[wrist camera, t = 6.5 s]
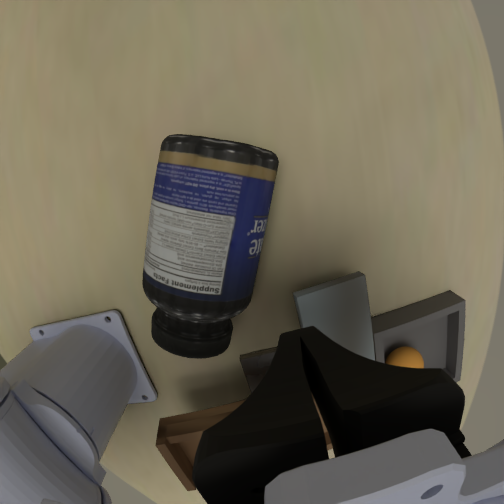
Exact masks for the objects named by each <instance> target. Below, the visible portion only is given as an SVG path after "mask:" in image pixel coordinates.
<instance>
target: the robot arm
mask: <svg viewBox="0 0 504 504" xmlns="http://www.w3.org/2000/svg"><path fill="white" fill-rule="evenodd" d="M107 316H108V317H110V318H111V321H110V320H108V319H107ZM42 331H43V332H44V333H43V332H42ZM30 334H31V337H32V339H33V342H32V343H31V344H29V345H28V346H27V347H26V348H25V349H24V350H23V351H21V352H20V353H19V354H18V355H17V356H16V357H15V358H14V359H12V360H11V361H10V362H9V363H8V364H7V365H6V366H5V367H4V368H2V369H1V370H0V504H112V502H111V498H110V496H109V494H108V492H107V491H106V490H105V489H104V488H103V487H102V486H101V484H102V481H103V479H104V477H105V474H106V471H105V470H104V469H103V468H102V467H101V465H100V464H99V461H100V459H101V457H102V455H103V453H104V451H105V449H106V447H107V444H108V442H109V440H110V438H111V436H112V434H113V432H114V430H115V428H116V426H117V424H118V422H119V420H120V418H121V416H122V414H123V412H124V410H125V408H126V406H127V404H132V403H143V402H153V401H155V400H156V399H157V393H156V391H155V389H154V387H153V385H152V383H151V381H150V379H149V377H148V375H147V373H146V371H145V368H144V366H143V364H142V362H141V360H140V358H139V356H138V353H137V351H136V349H135V347H134V344H133V342H132V340H131V338H130V335H129V333H128V331H127V328H126V326H125V323H124V321H123V319H122V316H121V314H120V313H119V312H118V311H116V310H111V311H106V312H102V313H97V314H93V315H88V316H83V317H79V318H74V319H70V320H65V321H60V322H56V323H51V324H46V325H41V326H36V327H33V328H31V329H30ZM312 394H313V397H314V399H315V402H316V404H317V407H318V409H319V412H320V414H321V416H322V419H323V421H324V424H325V426H326V429H327V431H328V434H329V437H330V440H331V443H332V447H333V451H334V454H335V458H332V459H329V456H328V451H327V445H326V439H325V434H324V430H323V426H322V423H321V419H320V416H319V414H318V411H317V409H316V406H315V403H314V400H313V397H312ZM144 395H146V396H147V397H145V396H144ZM464 405H465V396H464V393H463V390H462V389H461V388H460V387H459V385H458V384H457V383H456V382H455V381H454V380H453V379H452V378H451V377H450V376H449V375H448V374H447V373H446V372H445V371H444V370H442V369H441V368H410V367H401V366H395V365H390V364H386V363H382V362H378V361H374V360H371V359H368V358H366V357H363V356H361V355H358V354H356V353H354V352H352V351H350V350H348V349H346V348H344V347H342V346H341V345H339V344H338V343H336V342H335V341H333V340H332V339H330V338H329V337H327V336H326V335H325V334H323V333H322V332H321V331H320V330H319V329H317V328H316V327H314V326H309V327H305V328H301V329H297V330H293V331H289V332H285V333H282V334H281V335H280V337H279V342H278V346H277V349H276V352H275V354H274V357H273V359H272V362H271V364H270V366H269V368H268V370H267V371H266V373H265V375H264V377H263V378H262V380H261V382H260V383H259V384H258V386H257V387H256V389H255V390H254V391H253V392H252V393H251V395H250V396H249V397H248V398H247V399H246V400H245V401H244V402H243V403H242V404H241V405H240V406H239V407H238V408H237V409H235V410H234V411H233V412H232V413H230V414H229V415H228V416H227V417H225V418H224V419H222V420H221V421H219V422H218V423H216V424H215V425H213V426H211V427H210V428H208V429H206V430H205V431H203V433H202V436H201V439H200V442H199V444H198V447H197V450H196V454H195V459H194V466H193V472H192V480H193V483H194V485H195V487H196V488H197V490H198V491H199V493H200V494H201V495H202V497H203V498H204V500H205V501H206V502H207V504H504V439H503V440H502V441H500V442H499V443H497V444H496V445H494V446H493V447H491V448H489V449H487V450H486V451H484V452H481V453H478V454H475V455H471V454H470V452H469V451H468V449H467V448H466V446H465V445H464V444H463V442H464V441H465V437H464V435H463V434H462V432H461V431H460V429H459V428H460V424H461V419H462V415H463V410H464Z"/></svg>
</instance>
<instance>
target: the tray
mask: <svg viewBox="0 0 504 504" xmlns="http://www.w3.org/2000/svg"><path fill="white" fill-rule="evenodd" d="M371 324H372V333H373V342H374V352H375V361H378V362H382V363H385V361H386V359H387V357H388V356H389V354H390V353H391V352H392V351H394V350H395V349H397V348H399V347H404V346H407V347H412V348H414V349H416V350H417V351H418V352H419V353H420V354H421V356H422V358H423V361H424V368H441V369H442V370H444V371H445V372H446V373H447V374H448V375H449V376H450V377H451V378H452V379H453V380H454V381H455V382H458V381H460V377H461V369H462V359H463V347H464V331H465V300H464V299H463V298H461V297H460V296H458V295H457V294H455V293H453V292H452V291H450V290H449V291H447V292H444V293H442V294H439V295H436V296H433V297H431V298H428V299H425V300H422V301H420V302H417V303H414V304H411V305H408V306H405V307H402V308H400V309H397V310H394V311H391V312H387V313H384V314H381V315H378V316H375V317H372V318H371Z"/></svg>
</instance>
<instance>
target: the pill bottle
mask: <svg viewBox="0 0 504 504" xmlns="http://www.w3.org/2000/svg"><path fill="white" fill-rule="evenodd" d="M278 163H279V161H278V158H277V156H276V154H275V153H273V152H272V151H269V150H266V149H262V148H259V147H256V146H252V145H249V144H245V143H239V142H234V141H228V140H220V139H215V138H208V137H203V136H193V135H183V134H175V135H169V136H168V137H166V138H165V139H164V140H163V142H162V144H161V150H160V155H159V160H158V165H157V171H156V177H155V183H154V189H153V195H152V202H151V209H150V217H149V225H148V233H147V242H146V250H145V260H144V269H143V288H144V292H145V294H146V296H147V297H148V299H149V300H150V301H151V302H152V303H153V304H154V305H155V306H156V307H157V309H156V310H155V312H154V313H153V316H152V330H151V332H152V338H153V340H154V341H155V342H156V344H158V345H159V346H160V347H161V348H163V349H164V350H166V351H168V352H170V353H172V354H175V355H179V356H182V357H187V358H197V359H198V358H209V357H213V356H217V355H219V354H221V353H223V352H224V351H225V350H226V349H227V348H228V347H229V344H230V341H231V335H232V331H233V325H232V321H231V319H230V318H231V317H234V316H236V315H238V314H240V313H241V312H242V311H243V310H244V309H246V308H247V306H248V305H249V303H250V301H251V296H252V292H253V287H254V282H255V278H256V273H257V268H258V263H259V258H260V253H261V248H262V244H263V239H264V234H265V229H266V225H267V219H268V214H269V209H270V204H271V199H272V194H273V189H274V184H275V178H276V173H277V168H278Z"/></svg>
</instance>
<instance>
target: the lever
mask: <svg viewBox="0 0 504 504" xmlns="http://www.w3.org/2000/svg"><path fill="white" fill-rule="evenodd" d="M293 296H294V300H295V304H296V309H297V313H298V317H299V322H300V326H301V328H305V327H309V326H314V327H316V328H317V329H319V330H320V331H321V332H322V333H323V334H325V335H326V336H327V337H329V338H330V339H332V340H333V341H335V342H336V343H338V344H339V345H341V346H342V347H344V348H346V349H348V350H350V351H352V352H354V353H356V354H358V355H361V356H363V357H366V358H368V359H371V360H374V361H375V352H374V342H373V333H372V324H371V315H370V307H369V300H368V292H367V285H366V279H365V275H364V274H362V273H361V272H359V271H358V272H355V273H352V274H349V275H346V276H343V277H340V278H337V279H334V280H331V281H328V282H325V283H322V284H319V285H316V286H313V287H309V288H306V289H303V290H300V291H297V292H294V293H293ZM312 397H313V394H312ZM245 400H246V399H245ZM245 400H242V401H238V402H234V403H230V404H226V405H222V406H218V407H214V408H209V409H205V410H200V411H196V412H191V413H186V414H181V415H176V416H171V417H165V418H160V421H159V427H158V433H157V440H156V447H157V448H158V450H159V451H160V453H161V454H162V456H163V457H164V459H165V460H166V462H167V463H168V465H169V466H170V468H171V469H172V470H173V472H174V473H175V475H176V476H177V477H178V479H179V480H180V481H181V483H182V484H183V485H184V487H185V488H186V489H187V491H191V490H196V487H195V485H194V483H193V480H192V472H193V466H194V459H195V454H196V450H197V447H198V444H199V442H200V439H201V436H202V433H203V431H205V430H206V429H208V428H210V427H211V426H213V425H215V424H216V423H218V422H219V421H221V420H222V419H224V418H225V417H227V416H228V415H229V414H230V413H232V412H233V411H234V410H235V409H237V408H238V407H239V406H240V405H241V404H242V403H243V402H244V401H245ZM313 400H314V403H315V406H316V409H317V411H318V414H319V416H320V419H321V423H322V426H323V430H324V434H325V439H326V445H327V450H330V449H332V448H333V447H332V443H331V440H330V437H329V434H328V431H327V429H326V426H325V424H324V421H323V419H322V416H321V414H320V412H319V409H318V407H317V404H316V402H315V399H314V397H313Z"/></svg>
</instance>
